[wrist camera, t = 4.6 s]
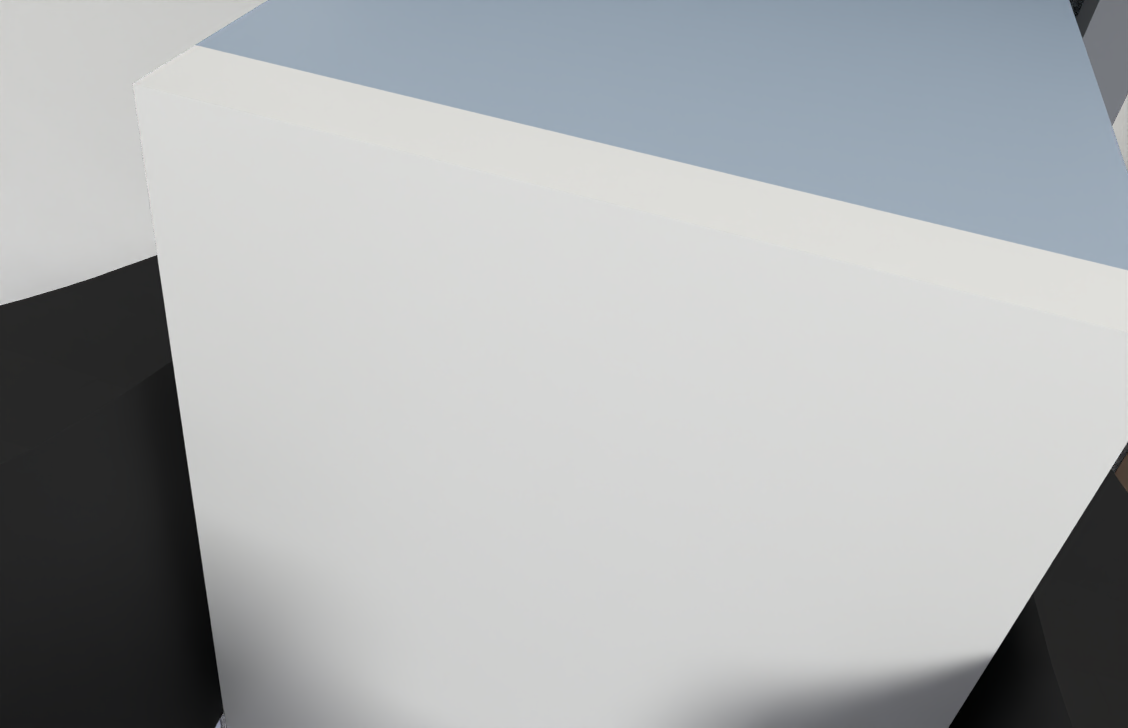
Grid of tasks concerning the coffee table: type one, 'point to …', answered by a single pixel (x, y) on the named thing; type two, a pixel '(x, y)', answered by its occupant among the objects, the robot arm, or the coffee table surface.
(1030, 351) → the light grey block
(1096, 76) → the bay
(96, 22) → the coffee table surface
